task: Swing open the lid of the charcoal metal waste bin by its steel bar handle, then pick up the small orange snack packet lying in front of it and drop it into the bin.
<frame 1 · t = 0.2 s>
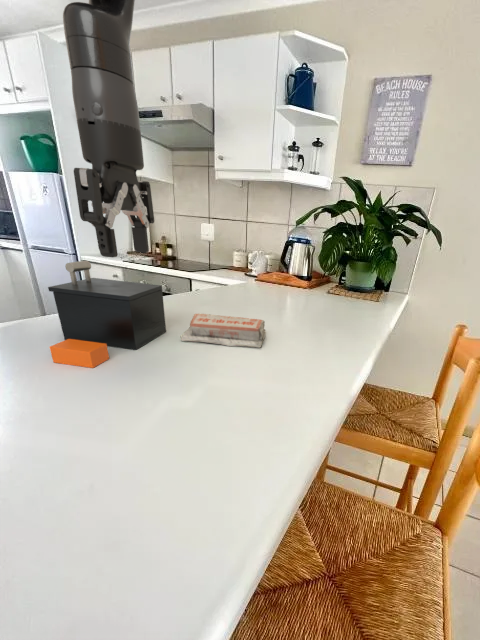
hand: (126, 254, 50), 19 cm above the countertop, tool pointing down, fingers open, 8 cm apart
bin: (118, 335, 71), on the countertop
packaged product: (225, 339, 75), on the countertop
bin lid: (107, 277, 65), point 12 cm above the countertop, hinge at 0.0°
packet: (82, 360, 58), on the countertop
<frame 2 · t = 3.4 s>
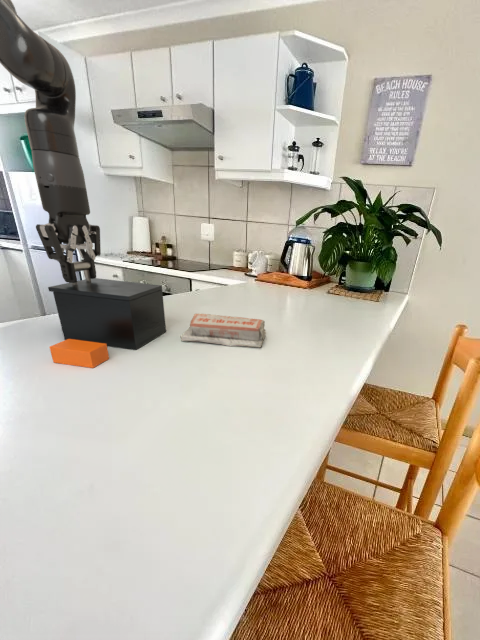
hand: (81, 279, 66), 11 cm above the countertop, tool pointing down, fingers closed on bin lid, 5 cm apart
bin lid: (107, 277, 65), point 12 cm above the countertop, hinge at 0.0°, touching gripper
everything else where it was.
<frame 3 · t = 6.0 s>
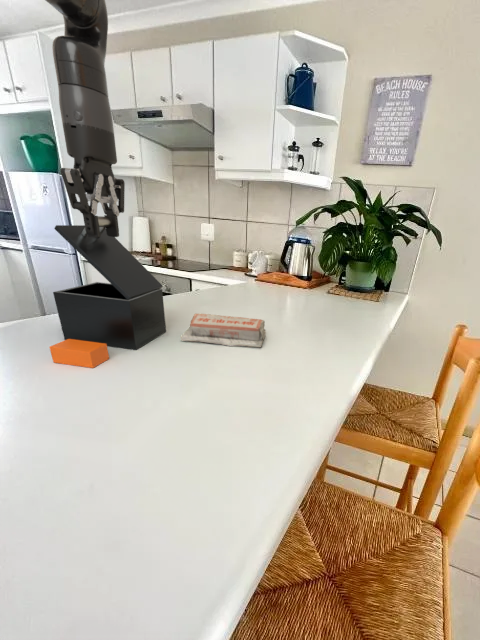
hand: (103, 236, 62), 20 cm above the countertop, tool pointing down, fingers closed on bin lid, 5 cm apart
bin lid: (120, 253, 63), point 17 cm above the countertop, hinge at 42.6°, touching gripper
everything else where it was.
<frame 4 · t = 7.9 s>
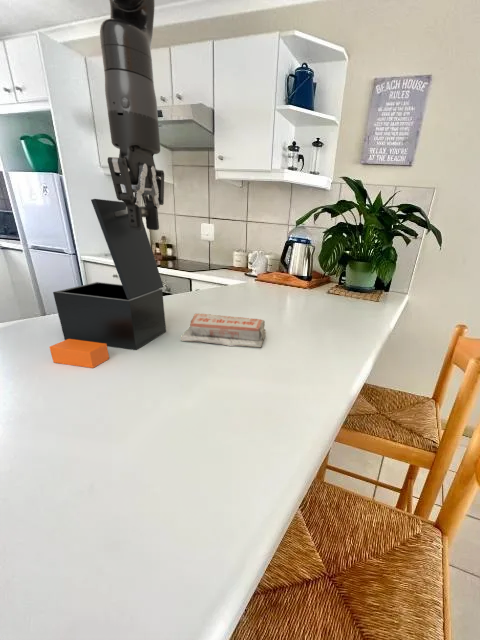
hand: (145, 229, 60), 22 cm above the countertop, tool pointing down, fingers closed on bin lid, 5 cm apart
bin lid: (142, 247, 62), point 19 cm above the countertop, hinge at 75.9°, touching gripper
everything else where it was.
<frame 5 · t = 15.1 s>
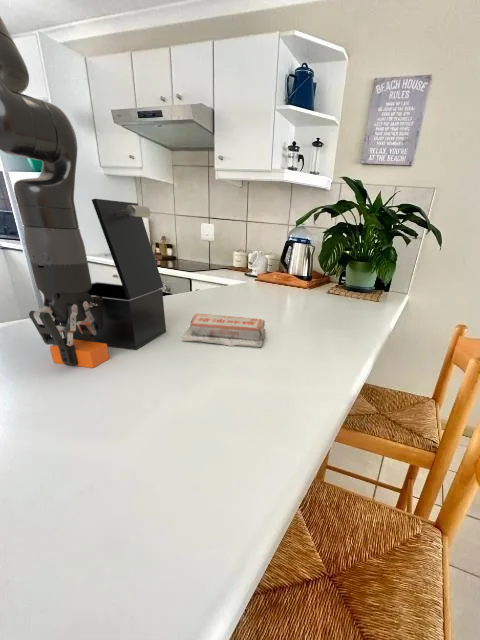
hand: (81, 359, 58), 0 cm above the countertop, tool pointing down, fingers closed on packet, 4 cm apart
bin lid: (142, 247, 62), point 19 cm above the countertop, hinge at 76.3°
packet: (82, 360, 58), on the countertop, touching gripper
everything else where it was.
when the fingers open (11 cm above the countertop, at t = 20.9 s): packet drops 10 cm, resting on bin.
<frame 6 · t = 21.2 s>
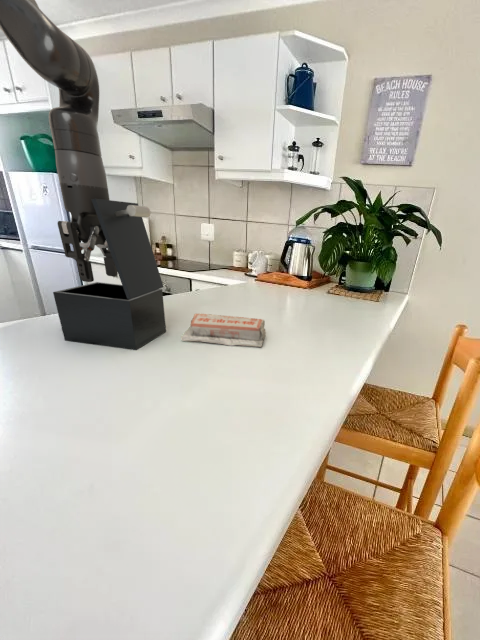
hand: (100, 278, 66), 12 cm above the countertop, tool pointing down, fingers open, 7 cm apart
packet: (110, 331, 71), point 1 cm above the countertop, touching bin
everything else where it was.
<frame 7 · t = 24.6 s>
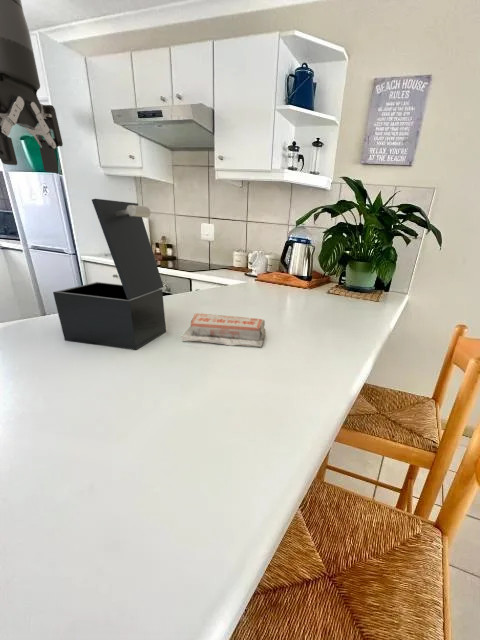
hand: (32, 168, 56), 30 cm above the countertop, tool pointing down, fingers open, 8 cm apart
nothing on the countertop moved.
at the end: bin lid at +76° (first picture: +0°); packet inside the target area in the bin (2.0 cm from its centre), point 0.8 cm above the bin's base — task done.
